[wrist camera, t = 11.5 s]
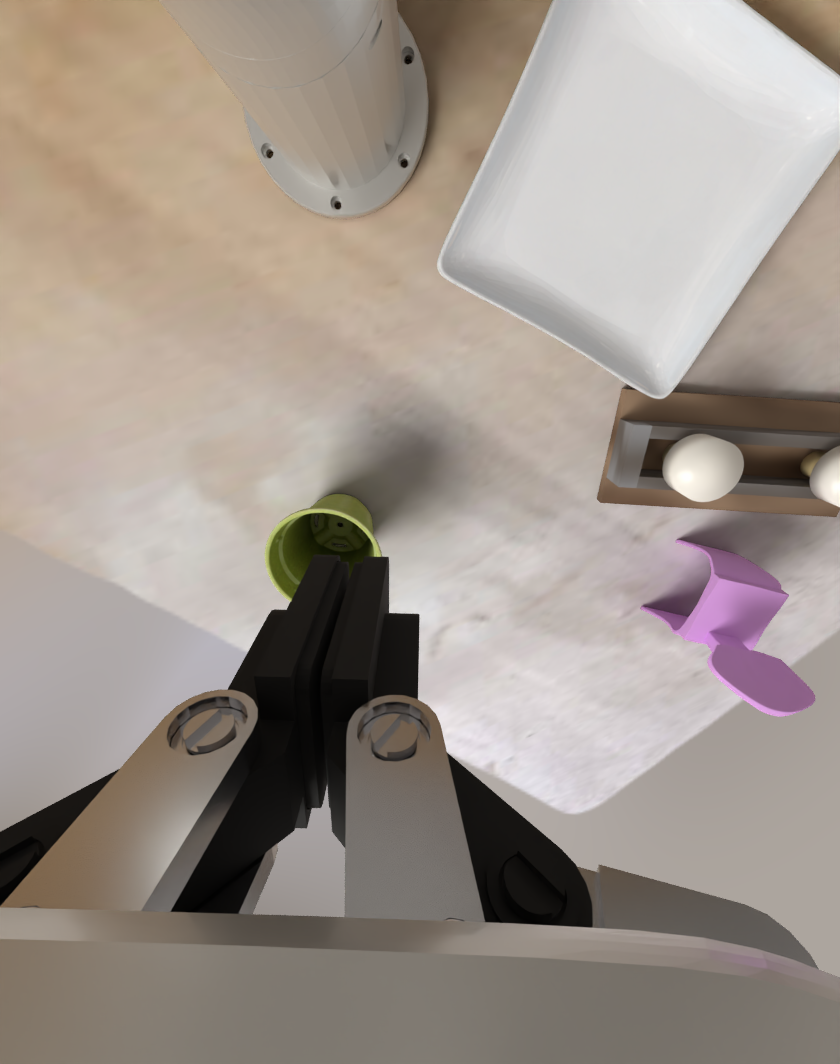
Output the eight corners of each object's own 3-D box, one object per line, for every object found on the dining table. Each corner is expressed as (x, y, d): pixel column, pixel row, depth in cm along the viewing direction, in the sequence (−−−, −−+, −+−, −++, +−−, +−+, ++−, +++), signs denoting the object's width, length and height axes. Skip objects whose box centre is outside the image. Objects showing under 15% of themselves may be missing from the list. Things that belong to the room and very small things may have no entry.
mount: (622, 388, 39) (641, 393, 35) (876, 404, 39) (920, 411, 35) (596, 499, 43) (612, 513, 39) (827, 513, 43) (863, 528, 39)
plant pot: (393, 481, 42) (386, 514, 34) (386, 570, 46) (378, 619, 38) (293, 471, 42) (262, 502, 34) (294, 561, 46) (266, 609, 38)
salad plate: (836, 120, 32) (881, 96, 29) (647, 400, 39) (667, 406, 36) (583, -71, 28) (603, -122, 25) (430, 278, 36) (430, 272, 33)
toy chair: (747, 551, 45) (890, 647, 31) (703, 623, 48) (814, 739, 34) (669, 531, 44) (780, 621, 30) (630, 606, 47) (714, 717, 34)
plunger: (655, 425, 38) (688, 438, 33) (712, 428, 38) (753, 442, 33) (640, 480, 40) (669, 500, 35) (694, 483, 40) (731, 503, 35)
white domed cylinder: (797, 434, 38) (850, 448, 33) (853, 437, 38) (915, 452, 33) (775, 488, 40) (823, 509, 35) (829, 492, 40) (884, 513, 35)
